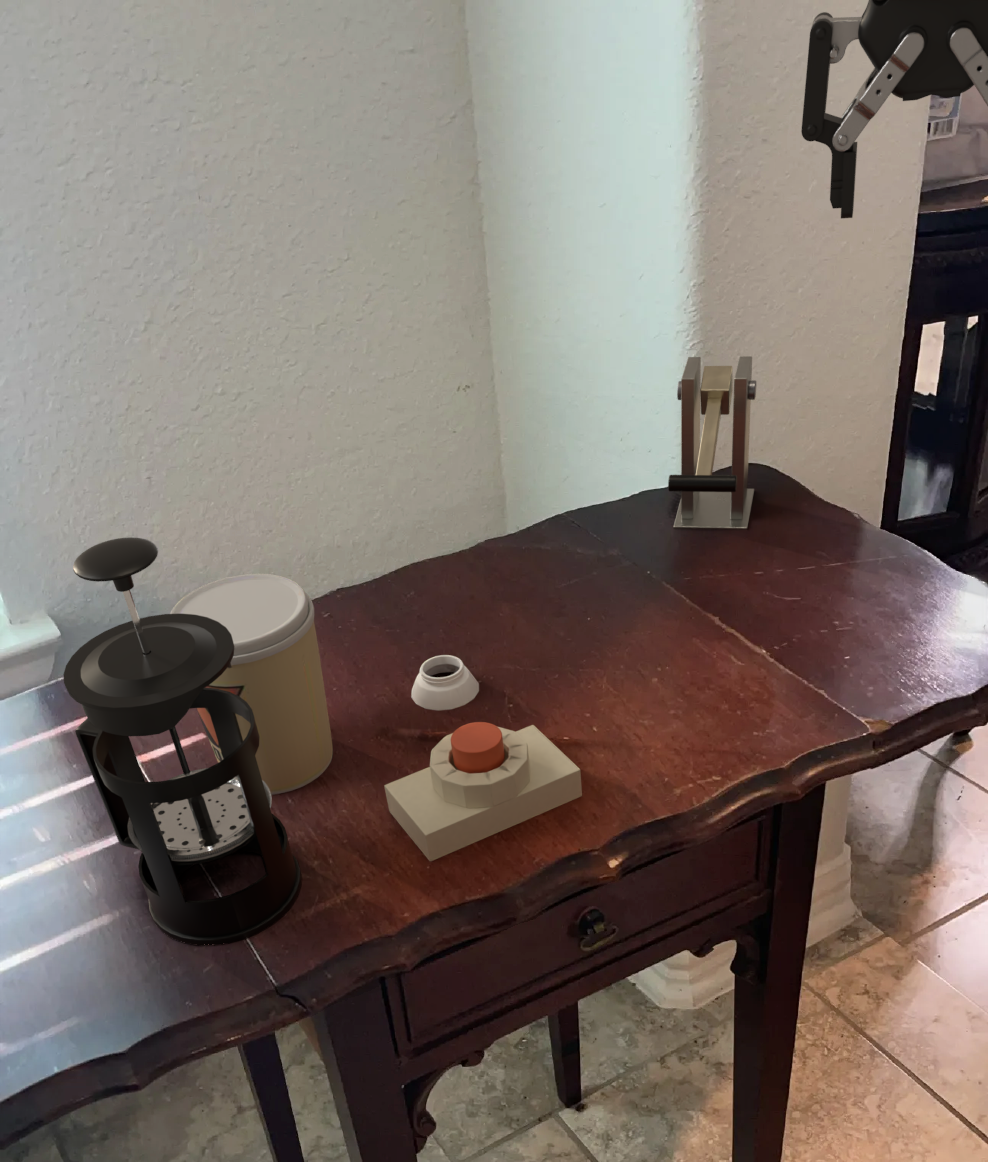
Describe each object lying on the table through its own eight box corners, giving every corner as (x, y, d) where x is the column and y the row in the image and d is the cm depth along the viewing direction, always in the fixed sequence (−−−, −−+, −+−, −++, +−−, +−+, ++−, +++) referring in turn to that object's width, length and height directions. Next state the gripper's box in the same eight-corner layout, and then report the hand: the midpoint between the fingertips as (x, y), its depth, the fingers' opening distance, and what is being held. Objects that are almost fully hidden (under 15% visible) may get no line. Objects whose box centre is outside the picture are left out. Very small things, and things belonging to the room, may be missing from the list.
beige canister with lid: (189, 756, 89) (140, 606, 81) (307, 705, 92) (271, 555, 84) (245, 822, 83) (198, 666, 75) (369, 765, 86) (337, 609, 78)
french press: (338, 859, 79) (254, 517, 63) (262, 963, 73) (148, 613, 57) (182, 825, 83) (67, 496, 68) (97, 921, 77) (-51, 584, 61)
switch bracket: (746, 541, 103) (752, 384, 95) (673, 539, 105) (672, 385, 96) (754, 501, 108) (760, 349, 100) (683, 500, 110) (683, 350, 101)
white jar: (465, 674, 93) (402, 695, 92) (460, 639, 91) (396, 660, 90) (492, 708, 89) (427, 730, 88) (488, 672, 87) (421, 694, 86)
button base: (535, 750, 85) (530, 701, 83) (582, 796, 81) (579, 746, 78) (388, 811, 82) (378, 762, 79) (430, 862, 78) (421, 812, 75)
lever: (735, 501, 95) (735, 477, 93) (668, 500, 96) (667, 476, 94) (750, 390, 100) (750, 364, 98) (687, 390, 101) (686, 365, 99)
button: (489, 738, 81) (486, 715, 79) (514, 762, 78) (511, 739, 77) (445, 756, 80) (441, 733, 79) (468, 781, 78) (465, 758, 76)
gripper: (806, -102, 65) (795, 237, 76) (1108, -140, 61) (1051, 222, 72) (814, -121, 70) (803, 199, 81) (1094, -157, 66) (1043, 184, 77)
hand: (920, 210), depth 76 cm, fingers open, 8 cm apart
